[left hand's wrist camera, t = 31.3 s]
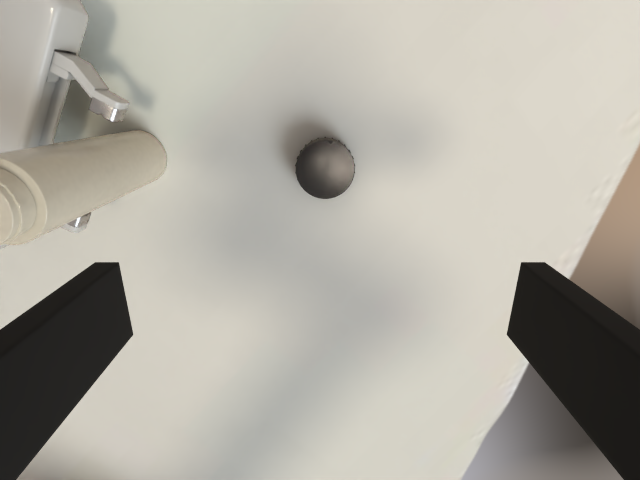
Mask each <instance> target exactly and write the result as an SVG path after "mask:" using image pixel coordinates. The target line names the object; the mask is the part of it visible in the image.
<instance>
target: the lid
mask: <svg viewBox="0 0 640 480" xmlns="http://www.w3.org/2000/svg"><path fill="white" fill-rule="evenodd" d="M350 153H351V152H350V150H348V149H347V148H346V146H345V144H344V145H343V144H342V143H341V142H340V141H339V140H338V141H337V140H335V139H333V138H332V139H331V138H326V137H325V138H318V139H316V140H314V141H312V140H311V142H310V143H309V144H307V145H305V147H304V148H303V150H301V151H300V155H299V156H298V157H297V159H298V160H297V163H296V165H295V166H296V175H297V180H298V181H299V183H300V185H301V187H302V188H303V189H304V190H305V191H306V192H307V193H309V194H310V195H312V196H314V197H317V198H322V199H328V198H333V197H336V196H338V195H340V194H342V193H343V192H344V191H345V190H346V189H347V188H348V187H349V186H350V184H351V182H352V180H353V177H354V173H355V167H354V166H355V164H354V161H353V159H354V158H353V156H351V154H350Z"/></svg>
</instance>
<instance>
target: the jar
mask: <svg viewBox="0 0 640 480" xmlns="http://www.w3.org/2000/svg"><path fill="white" fill-rule="evenodd" d="M166 165H167V157H166V153H165V150H164V148H163V146H162V144H161V143H160V142H159V140H158V139H157V138H155V137H154V136H153V135H151V134H149V133H147V132H145V131H141V130H132V131H126V132H120V133H114V134H108V135H102V136H96V137H90V138H84V139H78V140H72V141H66V142H60V143H54V144H48V145H42V146H36V147H30V148H24V149H18V150H12V151H6V152H0V245H4V244H7V245H19V244H25V243H28V242H30V241H32V240H34V239H36V238H38V237H40V236H42V235H44V234H47V233H49V232H51V231H53V230H55V229H57V228H59V227H61V226H63V225H65V224H67V223H69V222H71V221H73V220H75V219H77V218H79V217H81V216H83V215H85V214H87V213H89V212H92V211H94V210H96V209H98V208H100V207H102V206H104V205H106V204H108V203H110V202H112V201H114V200H116V199H118V198H120V197H122V196H124V195H126V194H128V193H130V192H132V191H134V190H137V189H139V188H141V187H143V186H145V185H147V184H149V183H151V182H153V181H155V180H157V179H158V178H160V177H161V176H162V174H163V173H164V171H165V169H166Z"/></svg>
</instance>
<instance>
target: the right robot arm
mask: <svg viewBox="0 0 640 480" xmlns="http://www.w3.org/2000/svg"><path fill="white" fill-rule="evenodd" d="M88 20H89V16H88V14H87V12H86V10H85V8H84V6H83V5H82V3H81V1H80V0H0V152H6V151H12V150H18V149H24V148H30V147H36V146H42V145H48V144H53V141H54V137H55V134H56V130H57V127H58V124H59V120H60V117H61V113H62V110H63V106H64V103H65V100H66V96H67V93H68V89H69V86H70V82H71V80H77V82H78V83H79V84H80V85H81V87H82V88H83V89H84V90H85V91H86V93H87V94H88V95H89V96H90V98H92V99H91V103H90V107H89V110H90V111H92V112H94V113H96V114H102V115H103V117H104V118H105V119H107V120H110V121H113V122H118V121H121V122H122V121H123V119H124V117H125V114H126V112H127V109H128V107H129V102H128V101H127V100H125V99H123V98H121V97H120V96H118V95H116V94H114V93H112V92H110V91H109V90H108V89H109V88H108V87H107V86H106V84H105V83H104V81H103V80H102V78H101V77H100V76H99V74H98V73H97V71H96V70H95V69H94V67H93V66H92V64H91V63H89V62H87V61H85V60H84V59H82V58H80V57H78V55H79V51H80V48H81V45H82V41H83V38H84V34H85V31H86V28H87V24H88ZM90 215H91V212H89V213H87V214H85V215H83V216H81V217H79V218H77V219H75V220H73V221H71V222H69V223H67V224H65V225H63V226H61V227H62V228H64V229H66V230H68V231H70V232H76V233H77V232H80V231H82V230H83V229H85V228H86V227H87V224H88V221H89V218H90ZM6 246H8V245H7V244H4V245H0V249H1V248H4V247H6Z"/></svg>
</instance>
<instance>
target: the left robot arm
mask: <svg viewBox="0 0 640 480" xmlns="http://www.w3.org/2000/svg"><path fill="white" fill-rule="evenodd" d="M132 335H133V331H132V326H131V321H130V316H129V311H128V306H127V301H126V296H125V291H124V286H123V281H122V276H121V271H120V266H119V262H95V263H94V264H92V265H91V266H89V267H88V268H87V269H85V270H84V271H82V272H81V273H80V274H78V275H77V276H75V277H74V278H73V279H71V280H70V281H68V282H67V283H66V284H64V285H63V286H61V287H60V288H58V289H57V290H56V291H54V292H53V293H51V294H50V295H49V296H47V297H46V298H44V299H43V300H42V301H40V302H39V303H37V304H36V305H34V306H33V307H32V308H30V309H29V310H27V311H26V312H25V313H23V314H22V315H20V316H19V317H18V318H16V319H15V320H13V321H12V322H11V323H9V324H8V325H6V326H5V327H3V328H2V329H1V330H0V480H16V479H17V478H18V477H19V475H20V474H21V473H22V472H23V470H24V469H25V468H26V467H27V465H28V464H29V463H30V462H31V461H32V459H33V458H34V457H35V456H36V454H37V453H38V452H39V451H40V449H41V448H42V447H43V446H44V444H45V443H46V442H47V441H48V439H49V438H50V437H51V436H52V435H53V433H54V432H55V431H56V430H57V428H58V427H59V426H60V425H61V423H62V422H63V421H64V420H65V418H66V417H67V416H68V415H69V413H70V412H71V411H72V410H73V408H74V407H75V406H76V405H77V404H78V402H79V401H80V400H81V399H82V397H83V396H84V395H85V394H86V392H87V391H88V390H89V389H90V387H91V386H92V385H93V384H94V382H95V381H96V380H97V379H98V378H99V376H100V375H101V374H102V373H103V371H104V370H105V369H106V368H107V366H108V365H109V364H110V363H111V361H112V360H113V359H114V358H115V356H116V355H117V354H118V353H119V351H120V350H121V349H122V348H123V347H124V345H125V344H126V343H127V342H128V340H129V339H130V338H131V337H132ZM507 335H508V337H509V338H510V339H511V340H512V342H513V343H514V344H515V345H516V347H517V348H518V349H519V350H520V351H521V353H522V354H523V355H524V356H525V358H526V359H527V360H528V361H529V363H530V364H531V365H532V366H533V368H534V369H535V370H536V371H537V373H538V374H539V375H540V376H541V377H542V379H543V380H544V381H545V382H546V384H547V385H548V386H549V387H550V389H551V390H552V391H553V392H554V394H555V395H556V396H557V397H558V399H559V400H560V401H561V402H562V403H563V405H564V406H565V407H566V408H567V410H568V411H569V412H570V413H571V415H572V416H573V417H574V418H575V420H576V421H577V422H578V423H579V425H580V426H581V427H582V428H583V430H584V431H585V432H586V433H587V435H588V436H589V437H590V438H591V439H592V441H593V442H594V443H595V444H596V446H597V447H598V448H599V449H600V451H601V452H602V453H603V454H604V456H605V457H606V458H607V459H608V461H609V462H610V463H611V464H612V465H613V467H614V468H615V469H616V470H617V472H618V473H619V474H620V475H621V477H622V478H623V479H624V480H640V330H639V329H638V328H636V327H635V326H634V325H632V324H631V323H629V322H628V321H627V320H625V319H624V318H622V317H621V316H620V315H618V314H617V313H615V312H614V311H613V310H611V309H610V308H608V307H607V306H605V305H604V304H603V303H601V302H600V301H598V300H597V299H596V298H594V297H593V296H591V295H590V294H589V293H587V292H586V291H584V290H583V289H581V288H580V287H579V286H577V285H576V284H574V283H573V282H572V281H570V280H569V279H567V278H566V277H565V276H563V275H562V274H560V273H559V272H558V271H556V270H555V269H553V268H552V267H551V266H549V265H548V264H546V263H545V262H521V266H520V271H519V276H518V281H517V286H516V291H515V296H514V301H513V306H512V311H511V316H510V321H509V326H508V331H507Z"/></svg>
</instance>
